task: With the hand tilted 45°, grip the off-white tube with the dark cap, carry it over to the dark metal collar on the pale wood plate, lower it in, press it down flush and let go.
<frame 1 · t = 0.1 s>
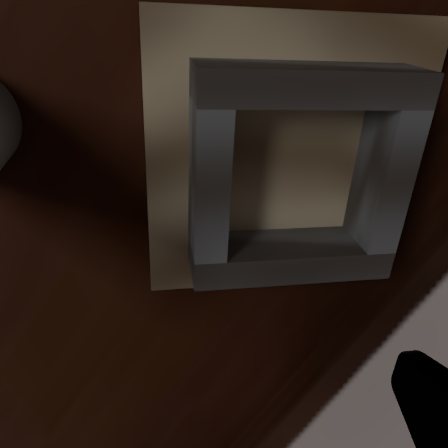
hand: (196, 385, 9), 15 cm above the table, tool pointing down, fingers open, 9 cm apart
collar: (280, 157, 23), on the table
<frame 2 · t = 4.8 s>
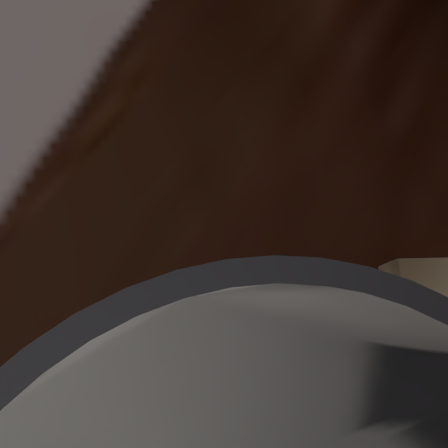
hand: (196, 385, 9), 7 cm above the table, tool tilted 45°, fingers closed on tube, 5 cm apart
tube: (182, 415, 15), on the table, touching gripper
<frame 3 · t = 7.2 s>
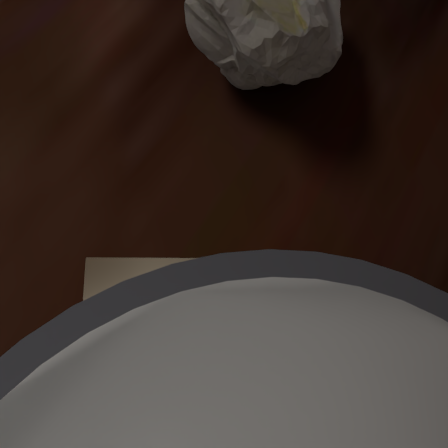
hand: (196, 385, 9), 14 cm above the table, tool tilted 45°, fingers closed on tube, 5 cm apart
fossil replica: (245, 42, 28), on the table
tube: (181, 414, 15), point 7 cm above the table, touching gripper
collar: (226, 401, 21), on the table
when the fingers open (8 cm above the table, at t = 10.0 s): tube stays where it is, resting on collar.
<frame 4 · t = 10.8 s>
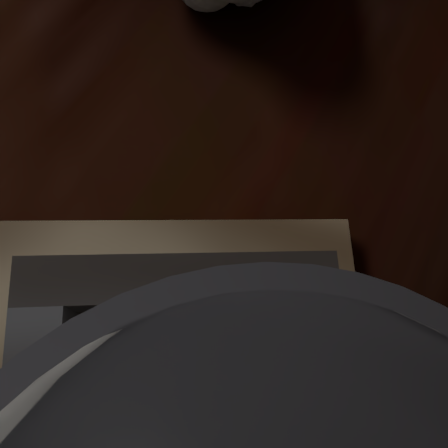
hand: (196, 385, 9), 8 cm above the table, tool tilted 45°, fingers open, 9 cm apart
tube: (181, 416, 15), point 2 cm above the table, touching collar
collar: (180, 409, 16), on the table
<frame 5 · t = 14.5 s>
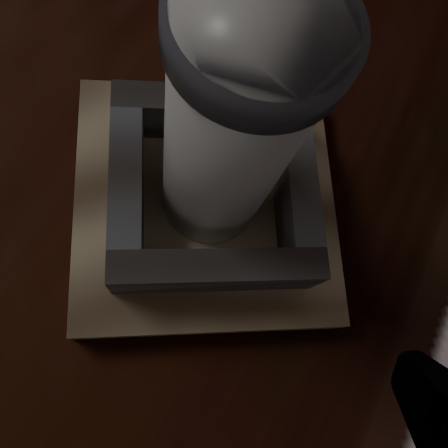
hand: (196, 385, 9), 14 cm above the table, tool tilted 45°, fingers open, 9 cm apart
tube: (209, 198, 23), point 2 cm above the table, touching collar
collar: (206, 207, 24), on the table
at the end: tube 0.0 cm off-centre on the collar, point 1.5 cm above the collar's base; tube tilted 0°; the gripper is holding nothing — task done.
